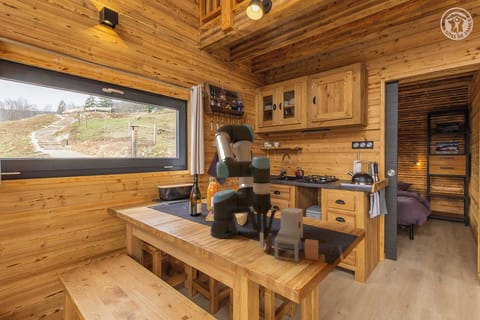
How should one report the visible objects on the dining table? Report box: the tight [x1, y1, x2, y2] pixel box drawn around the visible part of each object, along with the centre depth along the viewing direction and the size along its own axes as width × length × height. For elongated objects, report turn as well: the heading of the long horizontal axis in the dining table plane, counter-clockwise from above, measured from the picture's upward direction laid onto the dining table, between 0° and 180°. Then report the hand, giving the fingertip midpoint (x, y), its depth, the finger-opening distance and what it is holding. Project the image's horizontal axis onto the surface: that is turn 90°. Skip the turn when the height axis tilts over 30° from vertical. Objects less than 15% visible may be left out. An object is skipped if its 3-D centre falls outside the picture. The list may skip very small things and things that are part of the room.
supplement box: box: [280, 206, 304, 239], centre depth 113 cm, size 9×9×15 cm
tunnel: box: [274, 228, 302, 263], centre depth 94 cm, size 9×13×9 cm
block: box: [304, 239, 319, 260], centre depth 91 cm, size 5×5×6 cm
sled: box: [265, 232, 326, 263], centre depth 93 cm, size 23×7×8 cm, turn 70°
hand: (262, 246), depth 97 cm, fingers closed
